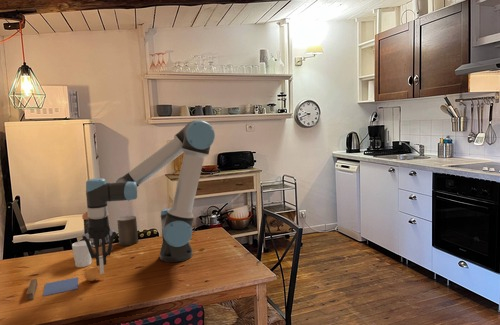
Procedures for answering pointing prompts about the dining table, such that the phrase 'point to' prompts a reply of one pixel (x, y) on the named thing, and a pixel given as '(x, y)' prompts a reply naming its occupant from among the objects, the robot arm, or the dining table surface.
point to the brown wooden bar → (31, 289)
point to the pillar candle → (127, 230)
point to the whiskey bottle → (86, 227)
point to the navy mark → (60, 286)
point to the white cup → (81, 254)
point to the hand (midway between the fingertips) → (102, 272)
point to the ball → (91, 274)
